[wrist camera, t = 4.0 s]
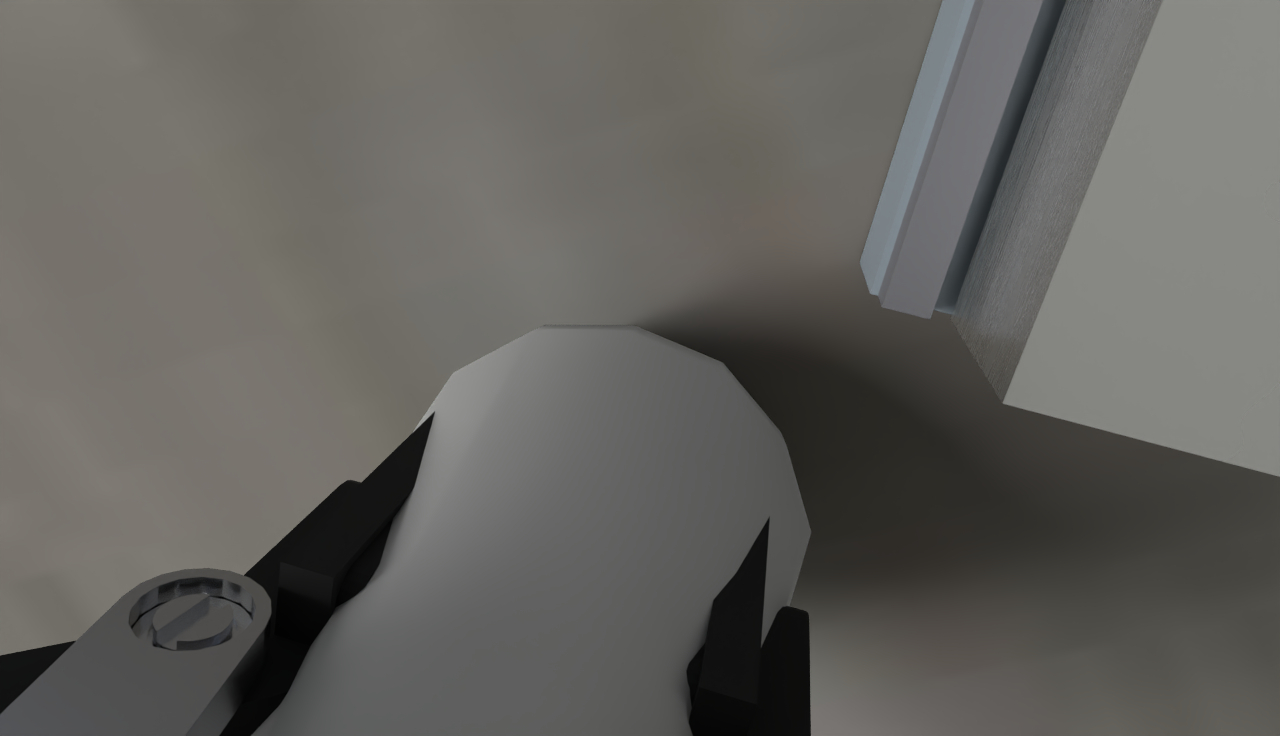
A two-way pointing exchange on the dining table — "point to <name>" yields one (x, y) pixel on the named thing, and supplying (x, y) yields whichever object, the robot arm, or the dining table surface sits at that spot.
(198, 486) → the dining table surface
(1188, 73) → the cover
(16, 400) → the dining table surface
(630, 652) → the salt shaker
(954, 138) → the base
